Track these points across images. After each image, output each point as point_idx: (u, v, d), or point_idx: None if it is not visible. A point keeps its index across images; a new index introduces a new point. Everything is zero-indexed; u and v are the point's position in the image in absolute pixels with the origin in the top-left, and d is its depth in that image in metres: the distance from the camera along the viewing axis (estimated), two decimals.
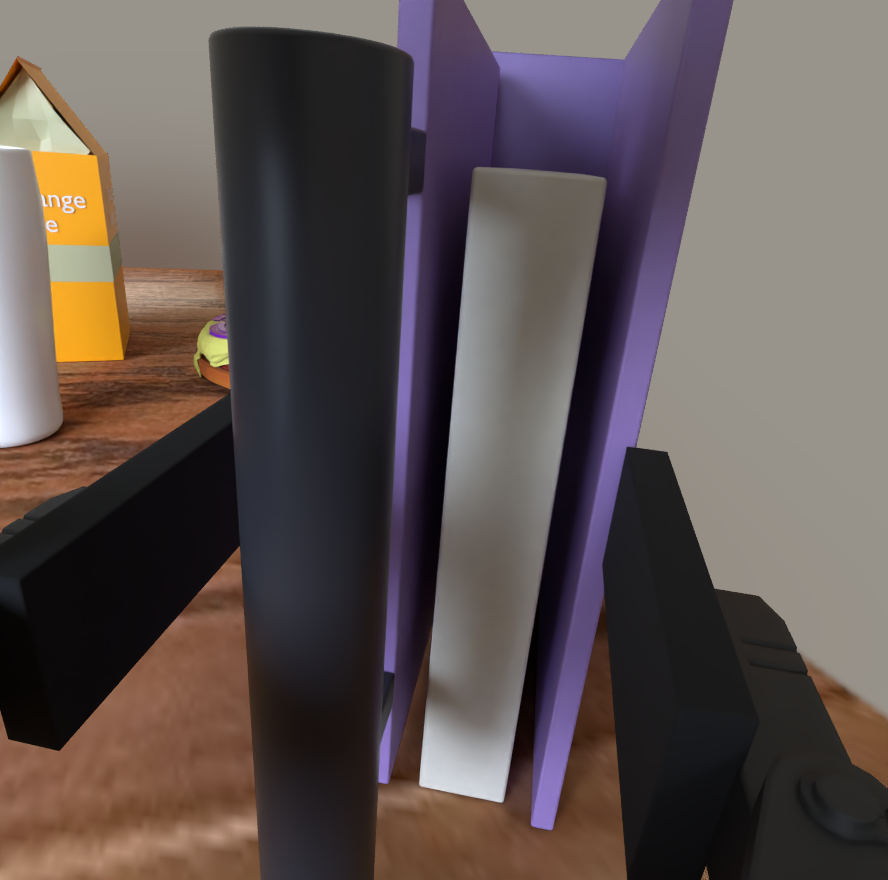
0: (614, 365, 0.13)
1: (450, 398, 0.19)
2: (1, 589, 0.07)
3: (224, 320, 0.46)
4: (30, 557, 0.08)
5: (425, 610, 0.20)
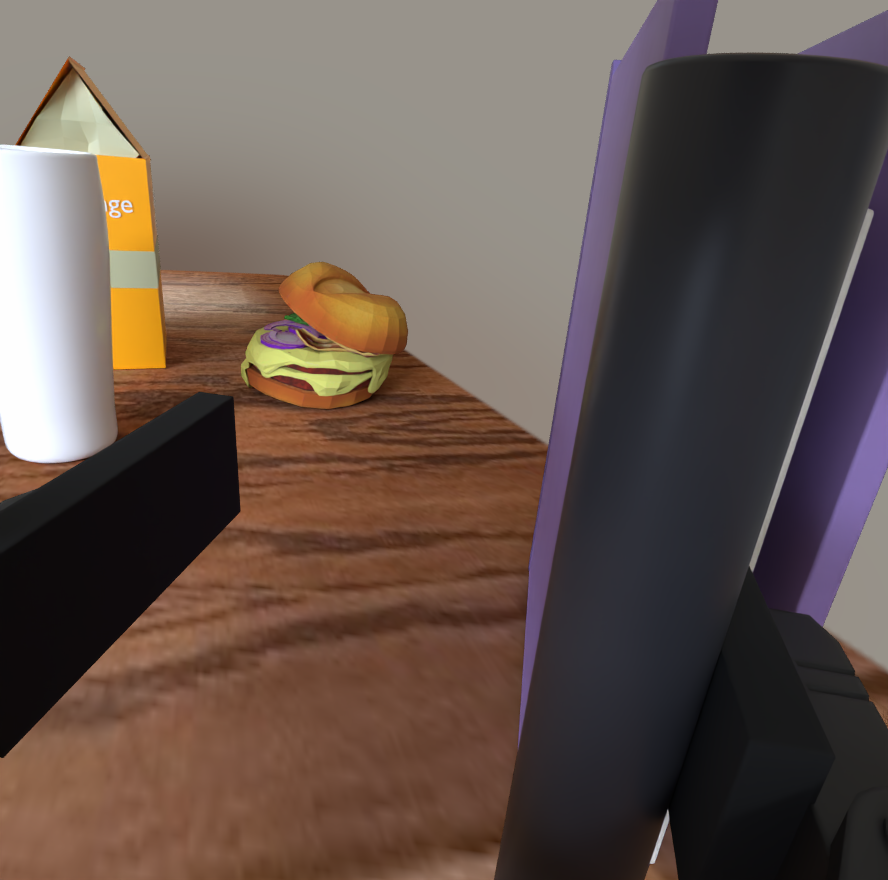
0: (844, 410, 0.12)
1: None
2: None
3: (272, 328, 0.45)
4: None
5: None
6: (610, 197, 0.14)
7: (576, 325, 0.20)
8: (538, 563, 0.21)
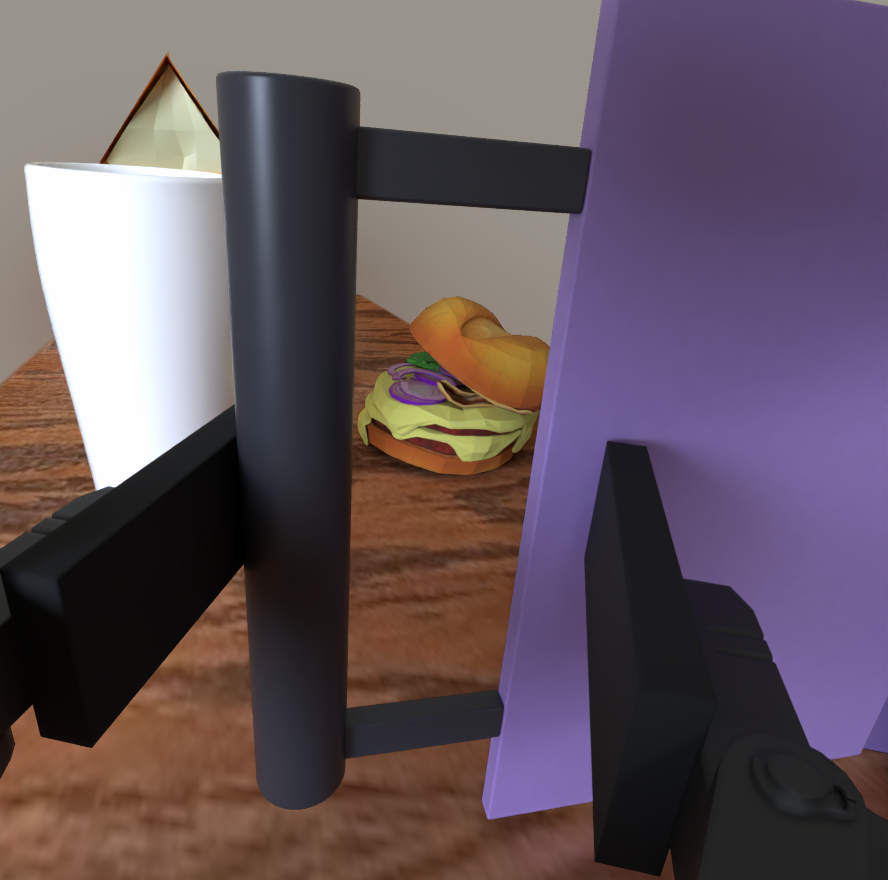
0: None
1: (792, 510, 0.14)
2: (38, 587, 0.07)
3: None
4: (65, 555, 0.08)
5: None
6: None
7: None
8: None
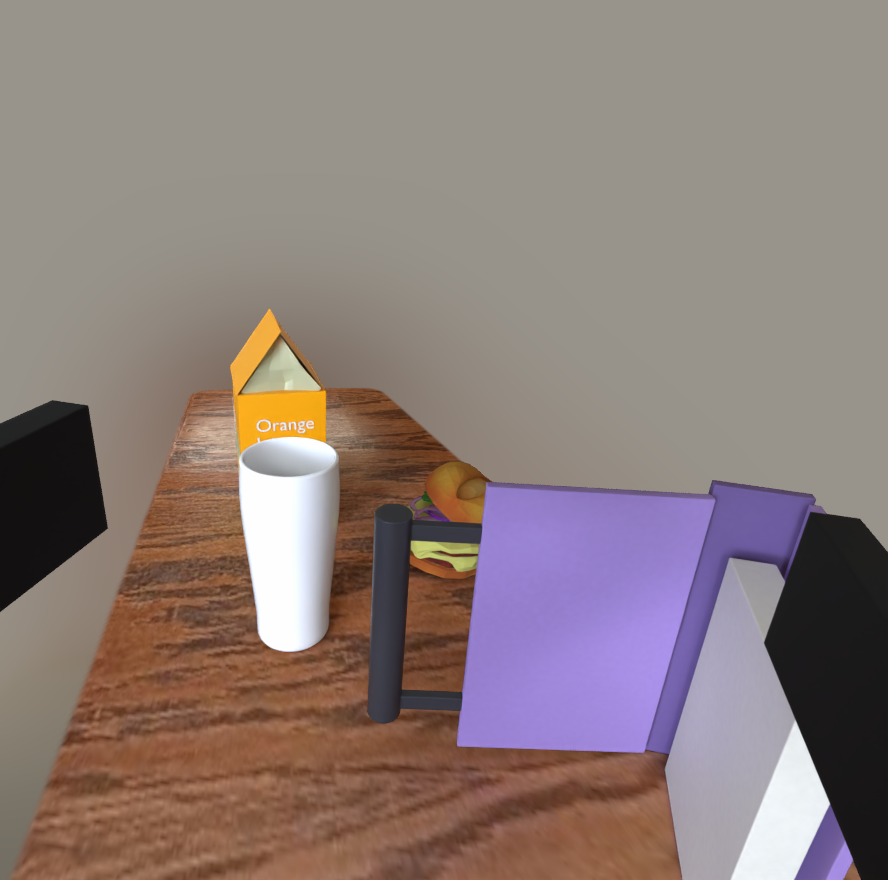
0: None
1: (578, 638, 0.37)
2: None
3: (414, 510, 0.59)
4: None
5: (533, 722, 0.39)
6: None
7: None
8: None
